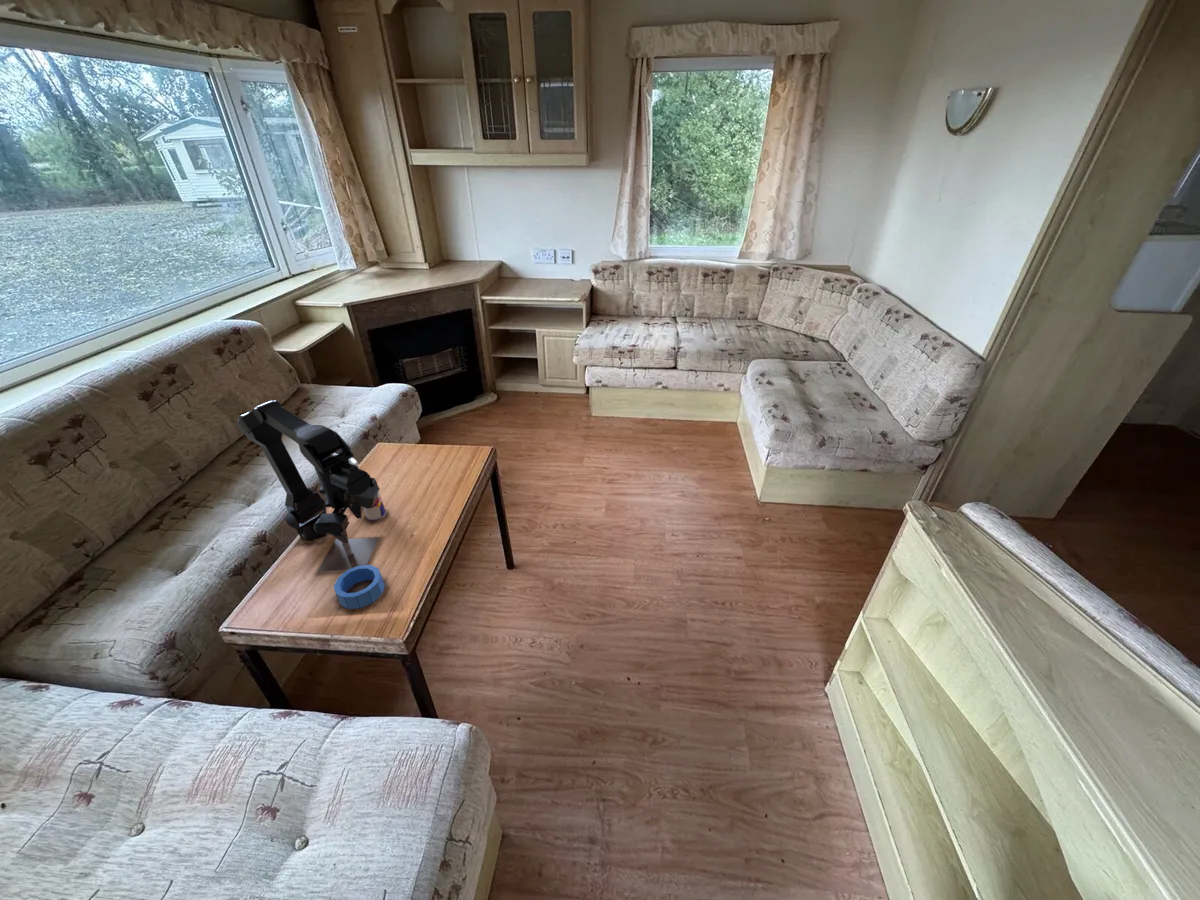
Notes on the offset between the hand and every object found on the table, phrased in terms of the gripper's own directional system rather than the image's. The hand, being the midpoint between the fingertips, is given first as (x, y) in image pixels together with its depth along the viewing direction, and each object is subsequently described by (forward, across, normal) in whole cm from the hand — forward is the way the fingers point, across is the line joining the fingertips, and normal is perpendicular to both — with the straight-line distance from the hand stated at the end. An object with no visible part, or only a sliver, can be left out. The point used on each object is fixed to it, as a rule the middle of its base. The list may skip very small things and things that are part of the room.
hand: (352, 530), depth 121 cm
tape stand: (+12, +3, +5) cm, 13 cm away
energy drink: (+12, +19, +3) cm, 23 cm away
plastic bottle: (+12, +25, +10) cm, 30 cm away
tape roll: (+12, -11, -3) cm, 16 cm away
